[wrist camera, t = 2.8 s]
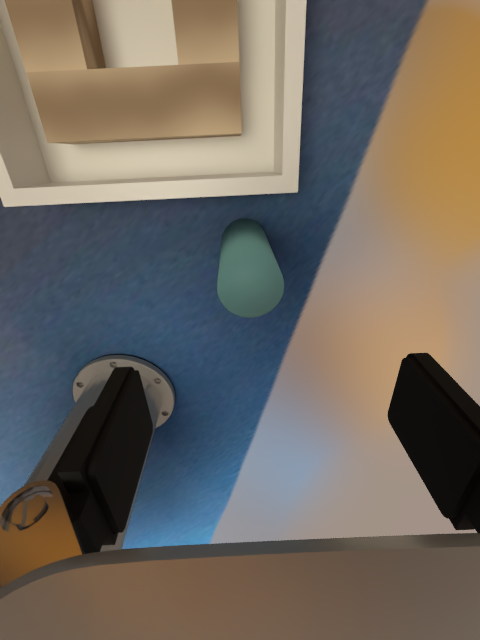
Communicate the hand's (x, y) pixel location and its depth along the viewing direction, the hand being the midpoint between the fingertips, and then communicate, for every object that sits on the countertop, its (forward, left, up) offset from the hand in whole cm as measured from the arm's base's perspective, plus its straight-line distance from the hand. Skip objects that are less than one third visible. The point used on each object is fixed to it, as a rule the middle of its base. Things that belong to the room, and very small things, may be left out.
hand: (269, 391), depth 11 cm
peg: (0, 0, -22) cm, 22 cm away
